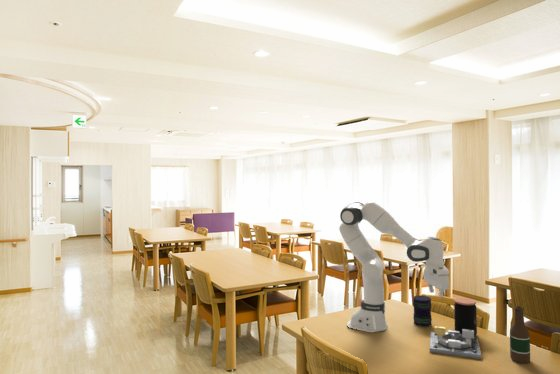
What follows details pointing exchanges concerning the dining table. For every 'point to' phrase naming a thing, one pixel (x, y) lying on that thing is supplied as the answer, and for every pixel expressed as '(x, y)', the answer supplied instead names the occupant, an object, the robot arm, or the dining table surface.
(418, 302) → the storage jar
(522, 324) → the beer bottle
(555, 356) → the dining table surface
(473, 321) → the coffee jar
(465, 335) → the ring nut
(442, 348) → the flange plate
